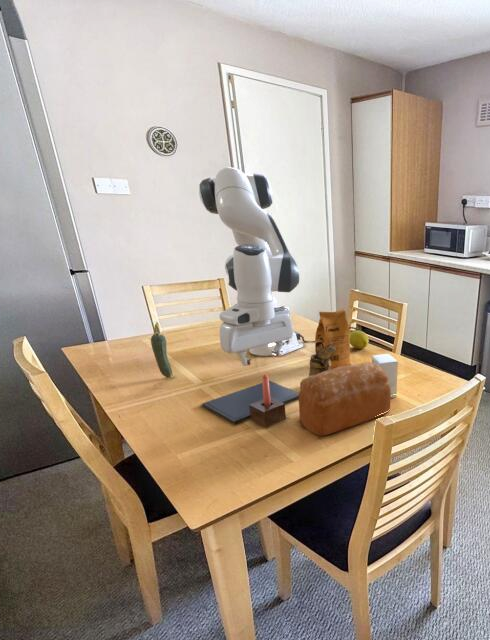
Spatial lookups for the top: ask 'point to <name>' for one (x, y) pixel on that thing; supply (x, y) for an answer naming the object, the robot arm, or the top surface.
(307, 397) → the bread
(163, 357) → the vegetable
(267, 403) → the red rod
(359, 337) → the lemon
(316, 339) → the coffee package
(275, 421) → the holder
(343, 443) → the top surface
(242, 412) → the tablet
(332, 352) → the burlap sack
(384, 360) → the small box
